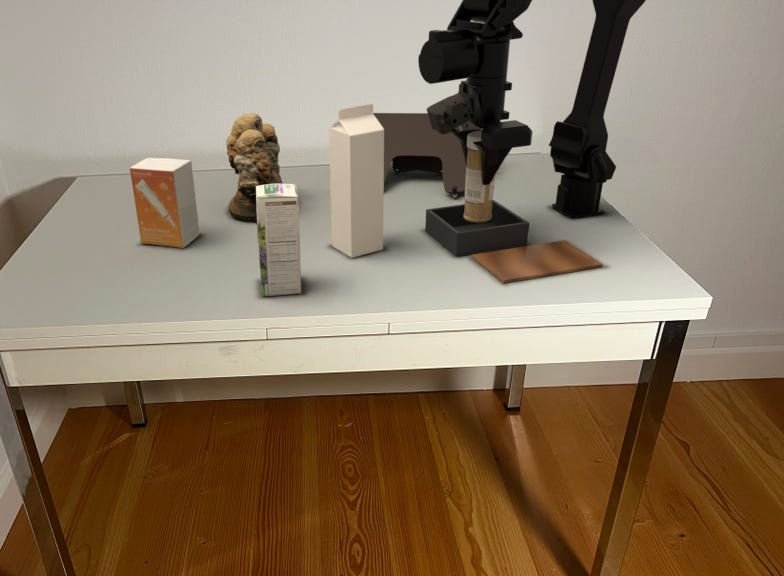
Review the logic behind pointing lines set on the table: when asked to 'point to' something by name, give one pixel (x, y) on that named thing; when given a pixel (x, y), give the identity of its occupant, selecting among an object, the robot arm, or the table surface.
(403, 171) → the laptop tray
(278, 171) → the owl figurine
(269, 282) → the syrup box
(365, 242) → the milk
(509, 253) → the brown wooden board
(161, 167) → the small box
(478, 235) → the bin
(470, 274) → the table surface
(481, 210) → the sprinkles bottle
